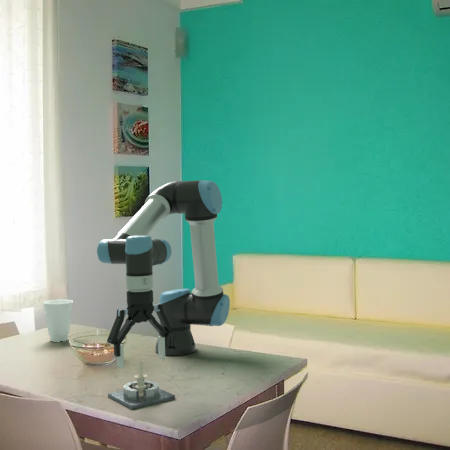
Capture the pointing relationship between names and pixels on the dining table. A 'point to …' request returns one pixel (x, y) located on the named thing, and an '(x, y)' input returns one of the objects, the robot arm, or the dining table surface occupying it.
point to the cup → (58, 318)
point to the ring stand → (133, 401)
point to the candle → (140, 378)
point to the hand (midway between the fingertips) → (141, 362)
